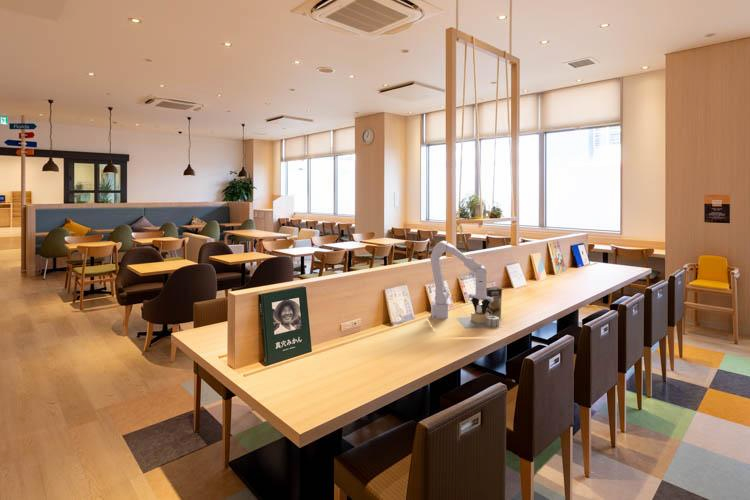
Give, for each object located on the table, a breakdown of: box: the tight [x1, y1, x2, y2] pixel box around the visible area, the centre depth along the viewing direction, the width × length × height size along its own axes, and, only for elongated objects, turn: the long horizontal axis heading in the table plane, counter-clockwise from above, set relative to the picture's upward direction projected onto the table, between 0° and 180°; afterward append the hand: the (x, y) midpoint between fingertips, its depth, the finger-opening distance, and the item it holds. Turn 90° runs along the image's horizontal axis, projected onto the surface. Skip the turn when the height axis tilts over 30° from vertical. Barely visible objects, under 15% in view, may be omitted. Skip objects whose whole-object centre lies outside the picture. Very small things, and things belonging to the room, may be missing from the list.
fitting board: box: [456, 310, 504, 329], centre depth 246 cm, size 20×20×5 cm
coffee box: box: [482, 286, 503, 318], centre depth 262 cm, size 9×6×16 cm
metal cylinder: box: [476, 302, 483, 314], centre depth 249 cm, size 4×4×7 cm
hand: (480, 312), depth 250 cm, fingers open, 4 cm apart
